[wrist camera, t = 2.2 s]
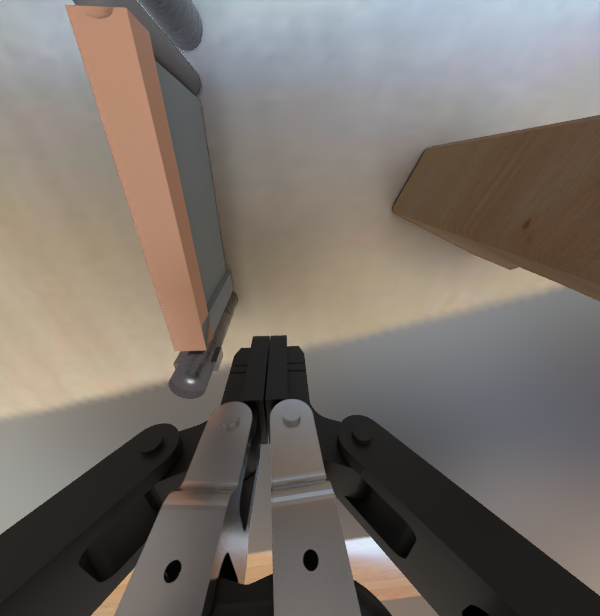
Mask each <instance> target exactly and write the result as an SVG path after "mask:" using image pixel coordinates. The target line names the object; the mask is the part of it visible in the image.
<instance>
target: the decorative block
mask: <svg viewBox="0 0 600 616" xmlns="http://www.w3.org/2000/svg"><path fill="white" fill-rule="evenodd" d="M393 211H394V213H395V214H397V215H399V216H401V217H403V218H405V219H407V220H409V221H410V222H412V223H414V224H416V225H418V226H420V227H422V228H424V229H426V230H428V231H430V232H432V233H434V234H436V235H437V236H439V237H441V238H443V239H445V240H447V241H449V242H451V243H453V244H455V245H457V246H459V247H461V248H463V249H465V250H466V251H468V252H470V253H472V254H474V255H476V256H478V257H481V258H483V259H486V260H488V261H490V262H493V263H495V264H498V265H500V266H502V267H505V268H507V269H509V270H511V269H515V268H517V267H521V268H523V269H526V270H528V271H530V272H533V273H535V274H538V275H540V276H543V277H545V278H548V279H550V280H552V281H555V282H557V283H559V284H562V285H564V286H566V287H568V288H571V289H573V290H575V291H578V292H580V293H582V294H584V295H587V296H589V297H592V298H593V299H596V300H598V301H600V115H597V116H592V117H587V118H582V119H576V120H571V121H566V122H561V123H555V124H550V125H545V126H539V127H534V128H529V129H523V130H518V131H512V132H507V133H501V134H496V135H491V136H485V137H480V138H474V139H469V140H464V141H459V142H454V143H448V144H443V145H438V146H433V147H430V148H428V149H426V150H425V152H424V154H423V155H422V157H421V159H420V161H419V162H418V164H417V166H416V168H415V169H414V171H413V173H412V175H411V176H410V178H409V180H408V182H407V183H406V185H405V187H404V188H403V190H402V192H401V194H400V195H399V197H398V199H397V201H396V202H395V204H394V206H393Z"/></svg>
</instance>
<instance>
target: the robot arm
mask: <svg viewBox="0 0 600 616" xmlns="http://www.w3.org/2000/svg"><path fill="white" fill-rule="evenodd" d="M268 435H269V444H271V475H272V476H271V477H272V488H271V514H272V555H273V574H271V575H269V576H267V577H265V578H262V579H260V580H258V581H256V582H254V583H252V584H249V585H244V581H245V574H246V566H247V556H248V534H249V528H250V521H251V514H252V508H253V501H254V495H255V489H256V483H257V476H258V470H259V458H260V447H261V444H267V443H268ZM334 493H335V495H336V497H337V498H338V499H339V500H340V502H341V503H342V504H343V505H344V506H345V507H346V508H347V510H348V511H349V512H350V513H351V514H352V515H353V517H354V518H355V519H356V520H357V521H358V522H359V523H360V524H361V526H362V527H363V528H364V529H365V530H366V532H367V533H368V534H369V535H370V536H371V537H372V538H373V540H374V541H375V542H376V543H377V544H378V545H379V547H380V548H381V549H382V550H383V551H384V552H385V554H386V555H387V556H388V557H389V558H390V559H391V560H392V562H393V563H394V564H395V565H396V566H397V567H398V569H399V570H400V571H401V572H402V573H403V574H404V575H405V577H406V578H407V579H408V580H409V581H410V582H411V584H412V585H413V586H414V587H415V588H416V589H417V590H418V592H419V593H420V594H421V595H422V596H423V597H424V599H425V600H426V601H427V602H428V603H429V604H430V605H431V607H432V608H433V609H434V610H435V611H436V612H437V614H438V615H439V616H600V596H599V595H598V594H596V593H595V592H594V591H592V590H591V589H590V588H589V587H587V586H586V585H585V584H584V583H582V582H581V581H580V580H578V579H577V578H576V577H575V576H573V575H572V574H571V573H569V572H568V571H567V570H566V569H564V568H563V567H562V566H560V565H559V564H558V563H557V562H555V561H554V560H553V559H551V558H550V557H549V556H547V555H546V554H545V553H544V552H542V551H541V550H540V549H539V548H537V547H536V546H535V545H533V544H532V543H531V542H529V541H528V540H527V539H526V538H524V537H523V536H522V535H520V534H519V533H518V532H517V531H515V530H514V529H513V528H511V527H510V526H509V525H508V524H506V523H505V522H504V521H502V520H501V519H500V518H499V517H497V516H496V515H495V514H493V513H492V512H491V511H490V510H488V509H487V508H486V507H484V506H483V505H482V504H481V503H479V502H478V501H477V500H475V499H474V498H473V497H471V496H470V495H469V494H468V493H466V492H465V491H464V490H462V489H461V488H460V487H459V486H457V485H456V484H455V483H453V482H452V481H451V480H450V479H448V478H447V477H446V476H444V475H443V474H442V473H441V472H439V471H438V470H437V469H435V468H434V467H433V466H432V465H430V464H429V463H428V462H426V461H425V460H424V459H422V458H421V457H420V456H419V455H417V454H416V453H415V452H413V451H412V450H411V449H410V448H408V447H407V446H405V445H404V444H403V443H402V442H401V441H399V440H398V439H397V438H395V437H394V436H393V435H392V434H390V433H389V432H388V431H386V430H385V429H384V428H383V427H381V426H380V425H378V424H377V423H376V422H375V421H373V420H372V419H370V418H368V417H365V416H362V415H352V416H349V417H347V418H345V419H344V420H343V421H342V422H339V421H335V420H331V419H328V418H325V417H323V416H321V415H319V414H318V413H317V412H316V411H315V410H314V409H313V408H312V406H311V404H310V400H309V392H308V384H307V375H306V366H305V358H304V353H303V351H302V350H301V349H300V347H299V346H287V335H282V336H271V337H270V336H253V339H252V344H251V348H241V349H240V350H239V351H238V352H237V353H236V355H235V356H234V359H233V362H232V367H231V370H230V374H229V377H228V381H227V384H226V388H225V391H224V395H223V399H222V402H221V405H220V406H219V407H218V408H217V409H215V410H214V411H213V412H212V414H211V415H210V417H209V419H208V420H207V421H206V422H204V423H202V424H200V425H197V426H194V427H192V428H189V429H185V430H182V431H179V432H178V430H177V429H176V427H174V426H173V425H171V424H157V425H154V426H151V427H149V428H147V429H145V430H143V431H142V432H140V433H139V434H138V435H136V436H135V437H134V438H132V439H131V440H129V441H128V442H127V443H125V444H124V445H123V446H122V447H120V448H119V449H118V450H116V451H114V452H113V453H112V454H110V455H109V456H108V457H106V458H105V459H103V460H102V461H101V462H99V463H98V464H97V465H95V466H94V467H93V468H91V469H90V470H89V471H87V472H86V473H84V474H83V475H81V476H80V477H79V478H78V479H76V480H75V481H73V482H72V483H71V484H69V485H68V486H66V487H65V488H64V489H62V490H61V491H60V492H58V493H57V494H55V495H54V496H53V497H51V498H50V499H49V500H47V501H46V502H44V503H43V504H42V505H40V506H39V507H38V508H36V509H35V510H34V511H33V512H31V513H30V514H28V515H27V516H25V517H24V518H23V519H21V520H20V521H18V522H17V523H16V524H14V525H13V526H12V527H10V528H9V529H7V530H6V531H5V532H3V533H2V534H1V535H0V616H91V615H92V614H93V613H94V611H95V610H96V609H97V608H98V607H99V606H100V605H101V604H102V603H103V602H104V600H105V599H106V598H107V597H108V596H109V595H110V594H111V593H112V592H113V591H114V589H115V588H116V587H117V586H118V585H119V584H120V583H121V582H122V581H123V580H124V578H125V577H126V576H127V575H128V574H129V573H130V572H131V571H132V570H133V569H134V567H135V566H136V567H135V569H134V571H133V574H132V576H131V578H130V580H129V583H128V585H127V587H126V590H125V592H124V594H123V597H122V599H121V601H120V603H119V606H118V608H117V610H116V613H115V615H114V616H392V615H391V614H390V612H389V611H388V610H387V609H386V607H385V606H384V605H383V604H382V603H381V602H380V601H379V600H378V599H377V597H375V596H374V595H373V594H372V593H371V592H370V591H369V590H368V589H366V588H365V587H364V586H362V585H361V584H359V583H358V582H357V581H355V580H353V576H352V571H351V567H350V563H349V558H348V554H347V549H346V545H345V540H344V536H343V531H342V527H341V523H340V518H339V514H338V509H337V505H336V501H335V496H334ZM178 573H179V574H178Z"/></svg>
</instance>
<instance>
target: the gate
mask: <svg viewBox="0 0 600 616" xmlns="http://www.w3.org/2000/svg"><path fill="white" fill-rule="evenodd" d="M73 1H74V3H75V4H76V5H65V6H66V10H67V13H68V16H69V19H70V22H71V25H72V28H73V32H74V35H75V38H76V41H77V44H78V47H79V50H80V54H81V57H82V60H83V63H84V66H85V69H86V73H87V76H88V79H89V82H90V85H91V88H92V91H93V95H94V98H95V101H96V104H97V107H98V110H99V113H100V117H101V120H102V123H103V126H104V129H105V132H106V136H107V139H108V142H109V145H110V148H111V151H112V154H113V158H114V161H115V164H116V167H117V170H118V173H119V176H120V180H121V183H122V186H123V189H124V192H125V195H126V198H127V202H128V205H129V208H130V211H131V214H132V217H133V221H134V224H135V227H136V230H137V233H138V236H139V239H140V243H141V246H142V249H143V252H144V255H145V258H146V261H147V265H148V268H149V271H150V274H151V277H152V280H153V284H154V287H155V290H156V293H157V296H158V299H159V302H160V306H161V309H162V312H163V315H164V318H165V321H166V324H167V328H168V331H169V334H170V337H171V340H172V343H173V346H174V350H175V351H203V350H207V348H208V346H209V344H210V342H211V339H212V337H213V335H214V332H215V330H216V328H217V326H218V323H219V321H220V319H221V316H222V314H223V312H224V309H225V307H226V305H227V303H228V300H229V298H230V296H231V293H232V291H233V285H232V278H231V273H226V267H225V260H224V254H223V247H222V240H221V234H220V227H219V221H218V214H217V208H216V201H215V195H214V188H213V182H212V175H211V168H210V162H209V155H208V149H207V142H206V136H205V129H204V123H203V116H202V110H201V103H200V100H199V99H198V98H197V97H196V96H195V95H196V94H197V93H198V92H199V90H200V78H199V75H198V73H197V72H196V71H195V69H194V68H193V67H192V66H191V65H190V63H189V62H188V61H187V60H186V59H185V57H184V56H183V55H182V54H181V53H180V51H179V50H178V49H177V48H176V47H175V46H174V44H173V43H172V42H171V41H170V40H169V38H168V37H167V36H166V35H165V34H164V32H163V31H162V30H161V29H160V28H159V27H158V25H157V24H156V23H155V22H154V21H153V19H152V18H151V17H150V16H149V15H148V13H147V12H146V11H145V10H144V9H143V8H142V6H141V5H140V4H139V3H138V2H137V0H73Z"/></svg>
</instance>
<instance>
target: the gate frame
mask: <svg viewBox="0 0 600 616" xmlns="http://www.w3.org/2000/svg"><path fill="white" fill-rule="evenodd" d="M138 1H139V2H140V3H141V5H142V6H143V7H144V8H145V9H146V11H147V12H148V13H149V14H150V15H151V17H152V18H153V19H154V20H155V21H156V23H157V24H158V25H159V26H160V27H161V29H162V30H163V31H164V32H165V33H166V35H167V36H168V37H169V38H170V39H171V41H172V42H173V43H174V44H175V45H176V46H177V47H179V48H181V49H183V50H192V49H194V48H196V47H197V46H198V44H199V43H200V40H201V37H202V23H201V19H200V16H199V13H198V11H197V9H196V8H195V6H194V4H193V2H192V0H138ZM237 302H238V298H237V295H236V294H235V293H234V292H233V291H232V293H231V296H230V298H229V300H228V303H227V305H226V307H225V309H224V312H223V314H222V316H221V319H220V321H219V323H218V326H217V328H216V330H215V332H214V335H213V337H212V339H211V342H210V344H209V346H208V348H207V350H203V351H181V352H180V353H179V355H178V357H177V359H176V360H175V362H174V366H175V369H176V370H175V371H174V373H173V375H172V377H171V379H170V380H169V388H170V390H171V391H172V392H173V393H174V394H176V395H177V396H179V397H182V398H187V399H193V398H198V397H200V396H202V395H203V394H204V392H205V390H206V388H207V385H208V382H209V379H210V377H211V374H212V371H218V369H219V366H220V363H221V360H222V357H223V353H222V347H221V346H222V343H223V341H224V338H225V335H226V332H227V329H228V327H229V324H230V321H231V318H232V316H233V313H234V310H235V307H236V304H237Z"/></svg>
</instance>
